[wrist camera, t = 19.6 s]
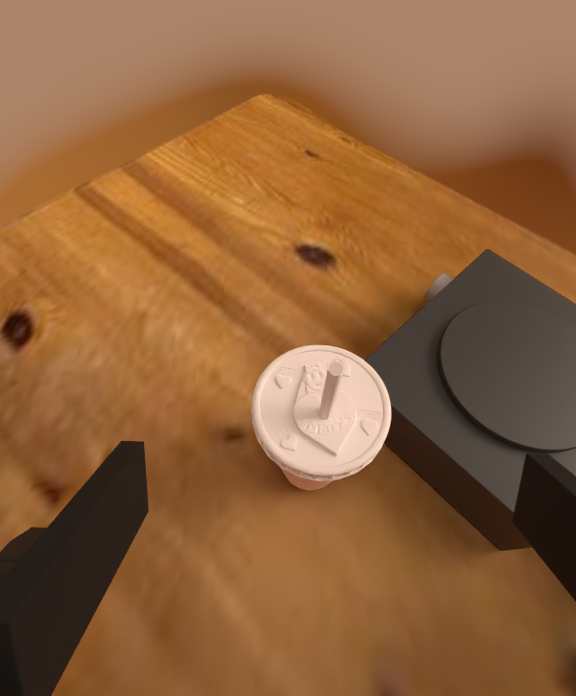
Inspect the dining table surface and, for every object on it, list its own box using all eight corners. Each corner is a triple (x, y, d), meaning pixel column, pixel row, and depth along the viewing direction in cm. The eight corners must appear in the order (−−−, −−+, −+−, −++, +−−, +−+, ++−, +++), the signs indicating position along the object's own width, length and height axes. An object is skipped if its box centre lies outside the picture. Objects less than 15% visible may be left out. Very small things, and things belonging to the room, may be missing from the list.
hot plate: (328, 391, 28) (338, 353, 24) (449, 282, 34) (477, 233, 29) (500, 551, 23) (557, 544, 19) (609, 393, 29) (676, 357, 24)
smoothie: (270, 523, 24) (257, 462, 12) (253, 425, 27) (229, 298, 15) (370, 501, 25) (453, 421, 13) (342, 407, 28) (387, 273, 16)
